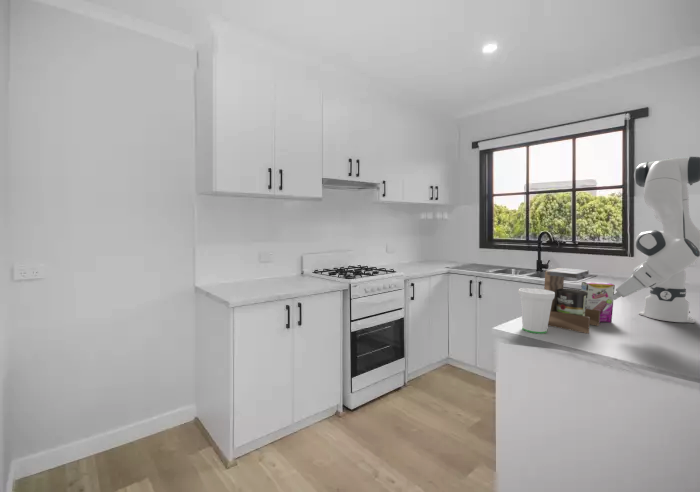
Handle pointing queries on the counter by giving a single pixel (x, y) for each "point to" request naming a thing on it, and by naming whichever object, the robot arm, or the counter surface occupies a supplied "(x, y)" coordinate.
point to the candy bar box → (599, 298)
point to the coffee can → (571, 301)
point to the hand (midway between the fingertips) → (613, 298)
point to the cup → (535, 309)
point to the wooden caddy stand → (566, 320)
